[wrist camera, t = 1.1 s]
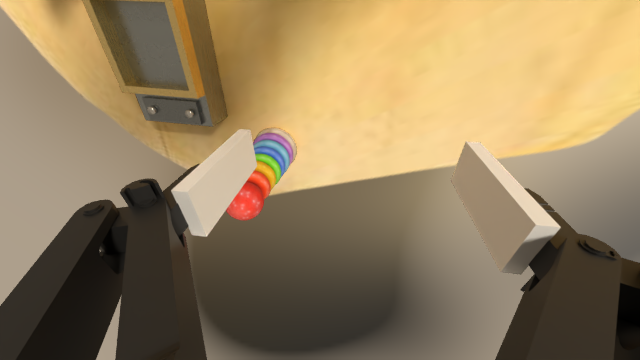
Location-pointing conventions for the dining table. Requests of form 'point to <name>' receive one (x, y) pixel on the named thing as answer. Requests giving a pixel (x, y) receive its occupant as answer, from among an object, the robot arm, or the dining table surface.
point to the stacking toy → (264, 172)
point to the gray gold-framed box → (162, 57)
